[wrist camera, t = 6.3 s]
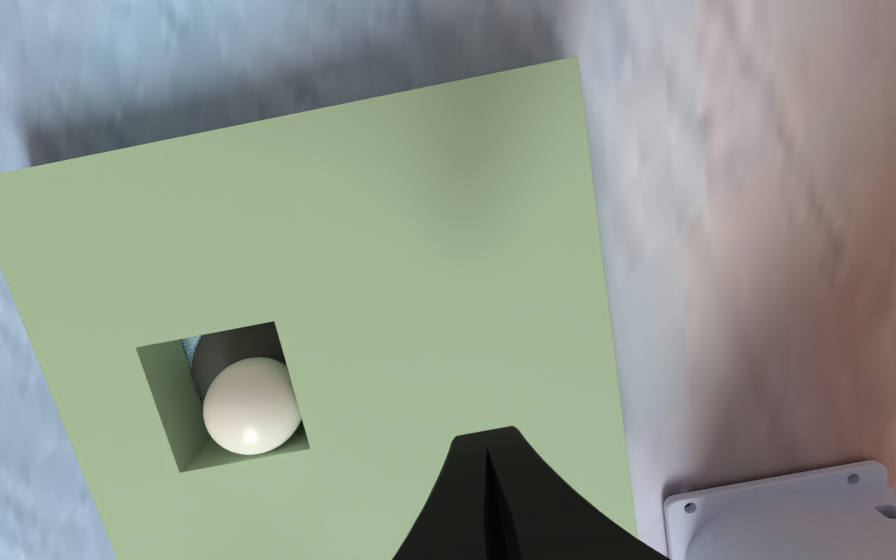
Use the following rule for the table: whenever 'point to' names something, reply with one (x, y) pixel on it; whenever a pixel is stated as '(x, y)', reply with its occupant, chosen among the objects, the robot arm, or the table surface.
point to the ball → (252, 406)
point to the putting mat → (325, 312)
